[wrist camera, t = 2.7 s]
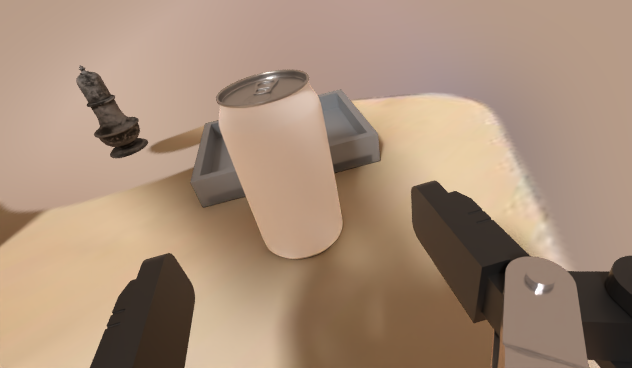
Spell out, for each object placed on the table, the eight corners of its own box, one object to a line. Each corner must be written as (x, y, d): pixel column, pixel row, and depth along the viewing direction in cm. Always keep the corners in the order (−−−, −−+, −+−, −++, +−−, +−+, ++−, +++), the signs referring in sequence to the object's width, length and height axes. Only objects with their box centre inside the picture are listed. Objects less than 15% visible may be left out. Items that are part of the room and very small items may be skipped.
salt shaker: (149, 134, 50) (106, 55, 43) (150, 148, 45) (103, 62, 39) (109, 148, 48) (58, 68, 42) (106, 164, 44) (49, 77, 37)
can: (258, 266, 24) (192, 117, 17) (270, 209, 29) (224, 77, 22) (345, 257, 23) (314, 96, 16) (342, 200, 28) (317, 60, 21)
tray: (202, 207, 31) (190, 182, 29) (213, 144, 43) (205, 123, 41) (380, 160, 32) (377, 133, 30) (344, 110, 43) (340, 89, 42)
